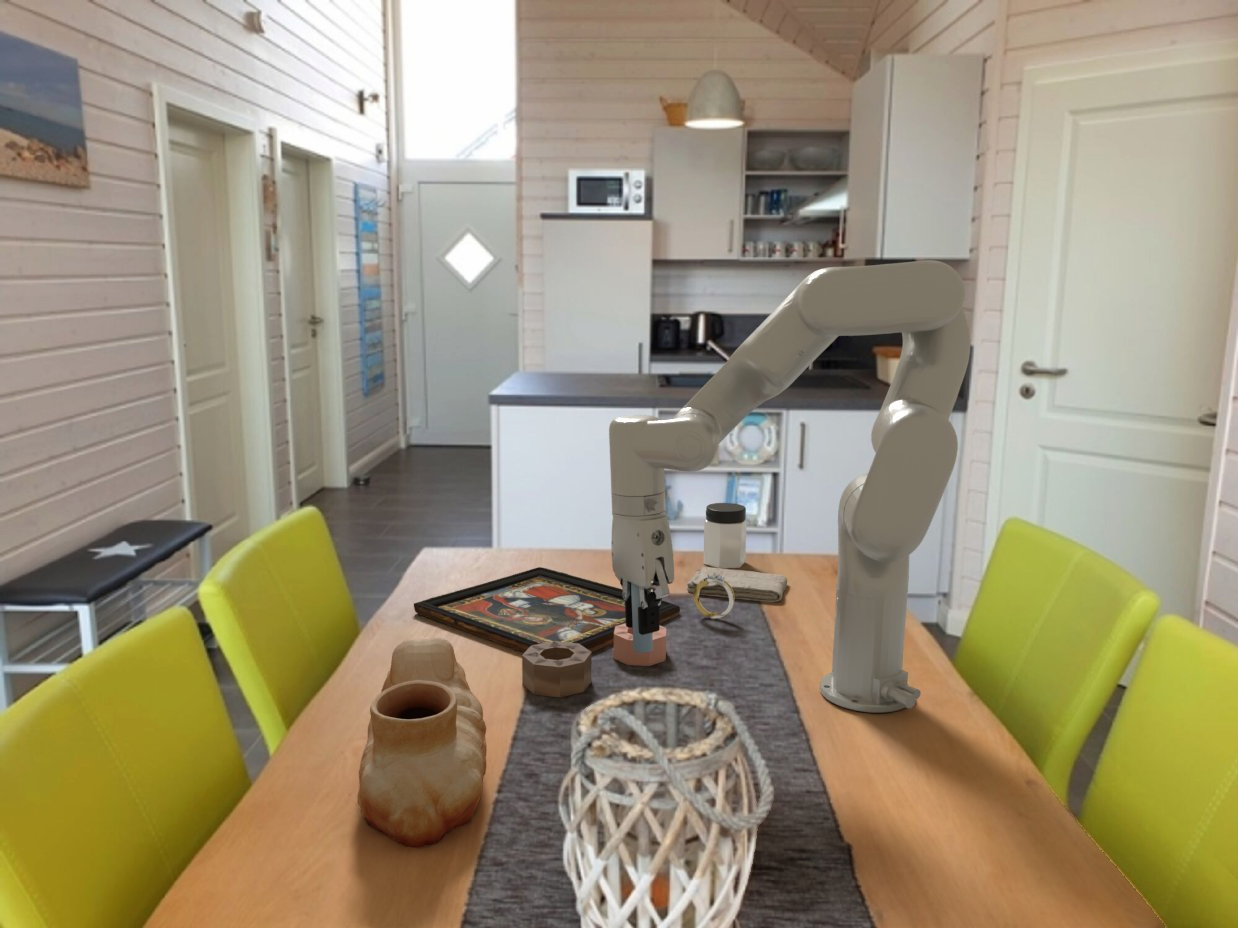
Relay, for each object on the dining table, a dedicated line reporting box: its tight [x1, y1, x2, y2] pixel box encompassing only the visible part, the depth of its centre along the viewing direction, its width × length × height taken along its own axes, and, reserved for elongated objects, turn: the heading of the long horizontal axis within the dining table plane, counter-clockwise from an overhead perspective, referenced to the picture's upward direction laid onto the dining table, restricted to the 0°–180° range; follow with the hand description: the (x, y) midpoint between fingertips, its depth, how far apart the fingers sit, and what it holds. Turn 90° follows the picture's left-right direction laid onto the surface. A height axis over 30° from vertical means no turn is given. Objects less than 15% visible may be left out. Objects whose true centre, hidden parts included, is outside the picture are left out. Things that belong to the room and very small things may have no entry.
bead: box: [521, 641, 592, 699], centre depth 137 cm, size 9×9×4 cm
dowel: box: [631, 583, 653, 653], centre depth 136 cm, size 3×3×12 cm
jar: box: [703, 502, 748, 569], centre depth 197 cm, size 9×8×12 cm
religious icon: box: [413, 566, 681, 654], centre depth 166 cm, size 38×35×3 cm
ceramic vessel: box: [357, 636, 488, 849], centre depth 107 cm, size 14×26×15 cm, turn 8°
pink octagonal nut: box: [612, 623, 667, 667], centre depth 148 cm, size 8×8×4 cm
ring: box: [693, 572, 736, 620], centre depth 164 cm, size 7×3×8 cm, turn 62°
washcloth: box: [686, 566, 788, 603], centre depth 181 cm, size 12×18×3 cm, turn 74°
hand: (642, 627), depth 137 cm, fingers closed on dowel, 2 cm apart
